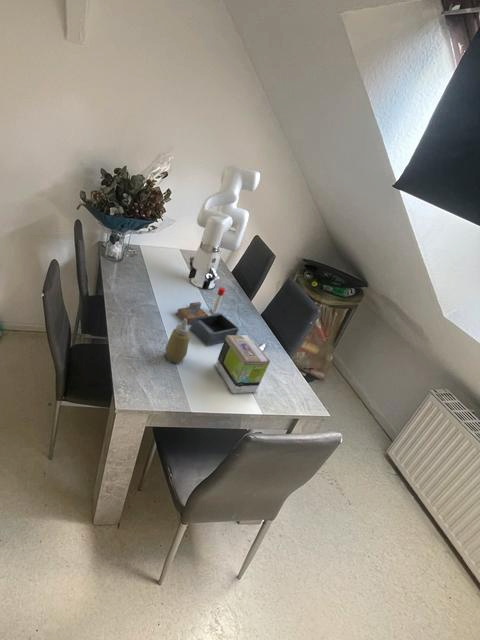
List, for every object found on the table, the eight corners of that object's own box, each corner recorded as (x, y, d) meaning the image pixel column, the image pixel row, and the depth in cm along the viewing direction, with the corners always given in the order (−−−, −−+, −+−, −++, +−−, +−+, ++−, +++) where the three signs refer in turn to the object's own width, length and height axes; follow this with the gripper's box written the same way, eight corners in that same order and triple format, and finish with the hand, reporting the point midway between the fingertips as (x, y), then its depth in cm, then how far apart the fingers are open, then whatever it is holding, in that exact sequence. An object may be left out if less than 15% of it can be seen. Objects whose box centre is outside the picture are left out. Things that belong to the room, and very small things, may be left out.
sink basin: (217, 323, 172) (220, 313, 169) (234, 339, 164) (238, 328, 161) (189, 329, 165) (193, 318, 162) (206, 345, 156) (210, 334, 153)
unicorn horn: (273, 349, 162) (277, 340, 159) (249, 373, 145) (253, 364, 143) (262, 343, 164) (266, 334, 162) (238, 367, 148) (242, 357, 145)
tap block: (194, 309, 179) (196, 304, 178) (207, 321, 172) (209, 315, 171) (175, 313, 174) (177, 307, 172) (188, 325, 167) (190, 319, 166)
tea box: (256, 392, 137) (271, 361, 129) (231, 393, 134) (245, 361, 126) (237, 364, 149) (250, 334, 141) (214, 365, 146) (225, 334, 139)
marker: (214, 310, 182) (222, 286, 175) (217, 313, 180) (226, 289, 173) (210, 311, 180) (218, 287, 174) (213, 314, 179) (222, 290, 172)
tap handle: (196, 310, 173) (199, 301, 171) (198, 311, 172) (201, 302, 170) (187, 311, 171) (190, 302, 168) (189, 313, 170) (192, 304, 167)
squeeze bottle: (179, 368, 141) (191, 329, 132) (159, 358, 145) (170, 319, 135) (187, 357, 148) (199, 319, 138) (168, 348, 151) (179, 310, 141)
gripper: (229, 255, 153) (217, 292, 162) (203, 238, 165) (192, 273, 174) (215, 256, 149) (203, 294, 158) (189, 238, 162) (179, 274, 171)
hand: (198, 283), depth 166 cm, fingers open, 9 cm apart
